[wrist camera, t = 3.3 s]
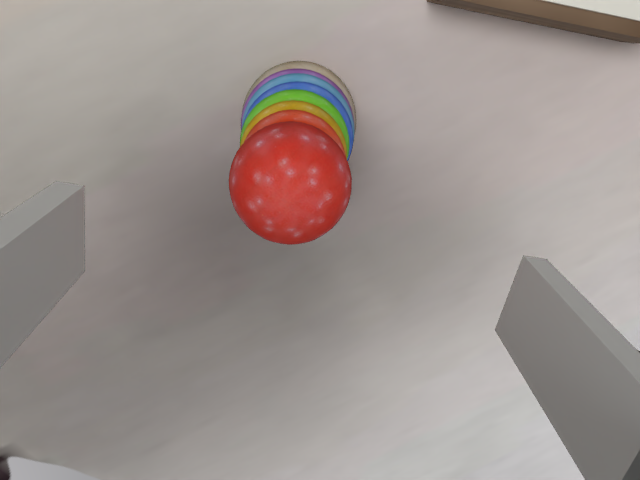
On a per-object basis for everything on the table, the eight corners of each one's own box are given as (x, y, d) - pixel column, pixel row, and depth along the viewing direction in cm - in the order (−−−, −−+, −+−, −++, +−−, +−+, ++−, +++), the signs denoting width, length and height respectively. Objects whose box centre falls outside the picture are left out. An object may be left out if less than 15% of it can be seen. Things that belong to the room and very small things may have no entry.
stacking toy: (371, 85, 35) (439, 150, 18) (330, 187, 38) (354, 327, 21) (263, 41, 34) (225, 68, 17) (229, 151, 37) (166, 270, 20)
